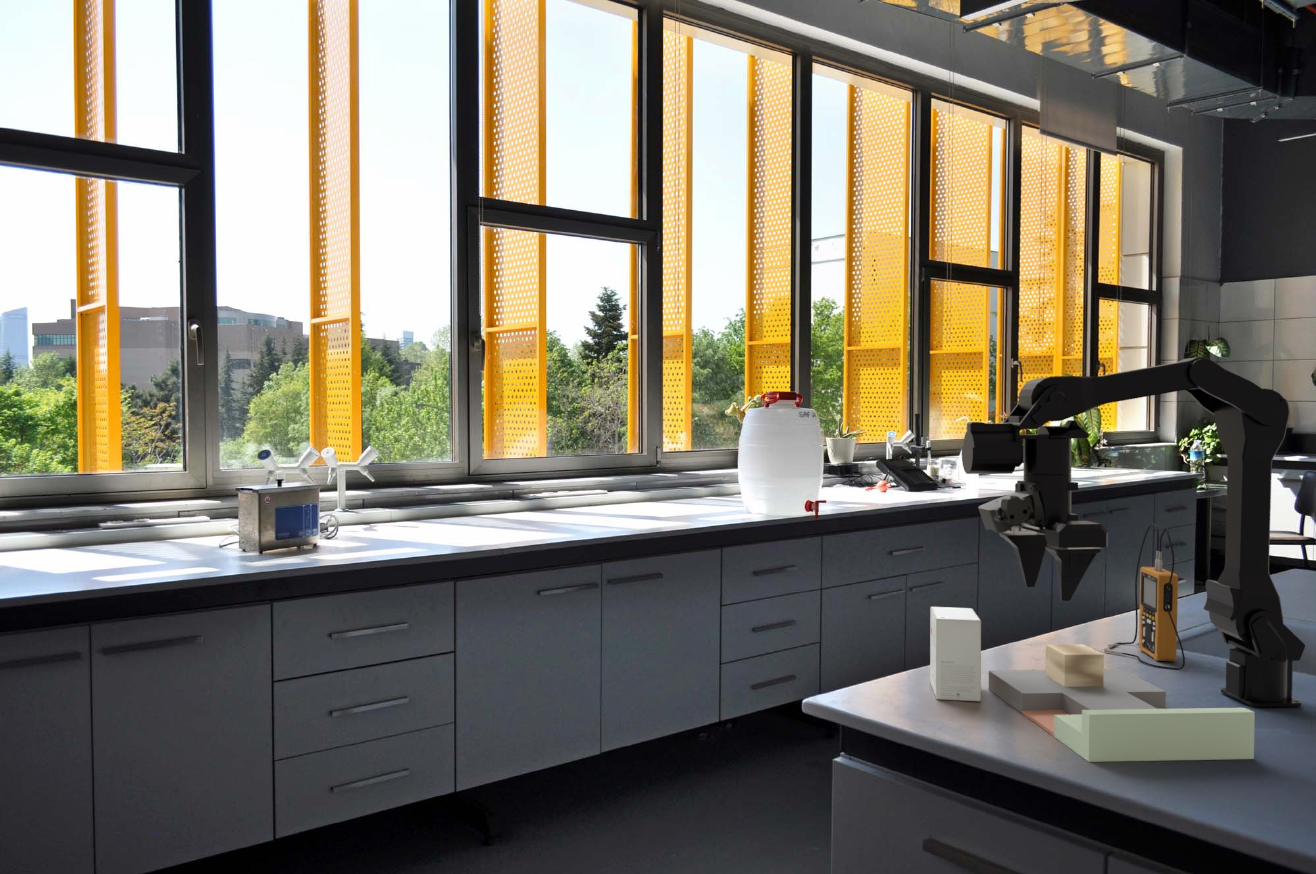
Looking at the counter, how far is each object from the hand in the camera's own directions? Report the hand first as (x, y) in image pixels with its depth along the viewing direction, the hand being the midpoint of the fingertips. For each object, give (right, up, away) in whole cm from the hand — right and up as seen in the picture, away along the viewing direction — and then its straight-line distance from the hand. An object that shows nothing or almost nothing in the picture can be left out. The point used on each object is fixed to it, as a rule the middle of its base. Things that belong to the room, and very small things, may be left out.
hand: (1047, 593), depth 120 cm
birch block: (+3, -11, -2) cm, 11 cm away
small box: (-12, -13, +1) cm, 18 cm away
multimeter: (+21, -13, +20) cm, 32 cm away
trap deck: (+3, -13, -9) cm, 16 cm away
